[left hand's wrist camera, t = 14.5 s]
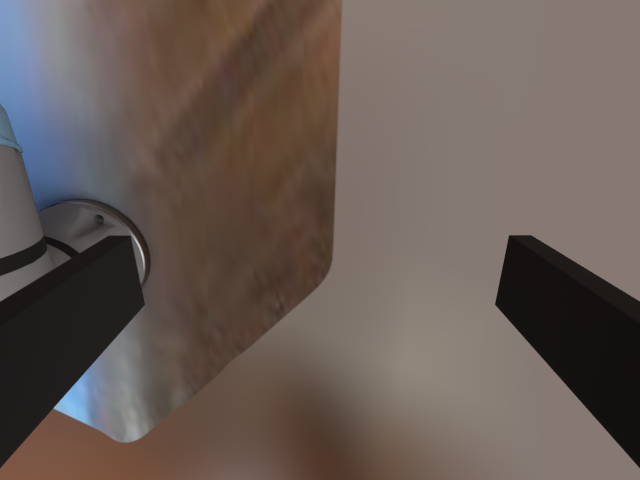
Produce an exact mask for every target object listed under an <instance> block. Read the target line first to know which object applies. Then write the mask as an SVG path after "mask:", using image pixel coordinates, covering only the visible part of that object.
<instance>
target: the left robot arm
mask: <svg viewBox="0 0 640 480" xmlns="http://www.w3.org/2000/svg"><path fill="white" fill-rule="evenodd" d="M22 152H23V151H22V148H21V146H20V145H18V144H17V142H16V139H15V136H14V133H13V130H12V127H11V124H10V122H9V119H8V116H7V113H6V111H5V110H4V108H3V107H2V106H1V105H0V468H1V467H2V465H3V464H4V463H5V462H6V461H7V460H8V459H9V457H10V456H11V455H12V454H13V453H14V452H15V451H16V450H17V448H18V447H19V446H20V445H21V444H22V443H23V442H24V441H25V439H26V438H27V437H28V436H29V435H30V434H31V433H32V432H33V430H34V429H35V428H36V427H37V426H38V425H39V424H40V422H41V421H42V420H43V419H44V418H45V417H46V416H47V415H48V413H49V412H50V411H51V410H52V409H53V408H54V407H55V406H56V404H57V403H58V402H59V401H60V400H61V399H62V398H63V396H64V395H65V394H66V393H67V392H68V391H69V390H70V389H71V387H72V386H73V385H74V384H75V383H76V382H77V381H78V380H79V378H80V377H81V376H82V375H83V374H84V373H85V372H86V371H87V369H88V368H89V367H90V366H91V365H92V364H93V363H94V361H95V360H96V359H97V358H98V357H99V356H100V355H101V354H102V352H103V351H104V350H105V349H106V348H107V347H108V346H109V345H110V343H111V342H112V341H113V340H114V339H115V338H116V337H117V335H118V334H119V333H120V332H121V331H122V330H123V329H124V328H125V326H126V325H127V324H128V323H129V322H130V321H131V320H132V319H133V317H134V316H135V315H136V314H137V313H138V312H139V311H140V309H141V308H142V307H143V306H144V305H145V303H144V298H143V293H142V286H143V285H144V283H145V282H146V280H147V277H148V274H149V270H150V255H149V250H148V247H147V244H146V242H145V240H144V238H143V236H142V234H141V233H140V231H139V230H138V229H137V227H136V226H135V225H134V224H133V223H132V222H131V221H130V220H129V219H128V218H127V217H126V216H125V215H123V214H122V213H120V212H119V211H118V210H116V209H114V208H112V207H110V206H108V205H106V204H103V203H100V202H97V201H93V200H86V199H73V200H67V201H63V202H60V203H57V204H55V205H52V206H50V207H47V208H45V209H43V210H42V211H40V212H39V213H38V212H37V209H36V205H35V202H34V198H33V194H32V191H31V187H30V184H29V180H28V177H27V173H26V170H25V166H24V162H23V159H22V155H21V153H22ZM495 305H496V306H497V307H498V308H499V309H500V311H501V312H502V313H503V314H504V315H505V316H506V317H507V318H508V320H509V321H510V322H511V323H512V324H513V325H514V326H515V328H516V329H517V330H518V331H519V332H520V333H521V334H522V335H523V337H524V338H525V339H526V340H527V341H528V342H529V343H530V344H531V346H532V347H533V348H534V349H535V350H536V351H537V352H538V353H539V355H540V356H541V357H542V358H543V359H544V360H545V361H546V363H547V364H548V365H549V366H550V367H551V368H552V369H553V371H554V372H555V373H556V374H557V375H558V376H559V377H560V378H561V380H562V381H563V382H564V383H565V384H566V385H567V386H568V387H569V389H570V390H571V391H572V392H573V393H574V394H575V395H576V396H577V398H578V399H579V400H580V401H581V402H582V403H583V404H584V405H585V407H586V408H587V409H588V410H589V411H590V412H591V413H592V415H593V416H594V417H595V418H596V419H597V420H598V421H599V422H600V424H601V425H602V426H603V427H604V428H605V429H606V430H607V431H608V433H609V434H610V435H611V436H612V437H613V438H614V439H615V441H616V442H617V443H618V444H619V445H620V446H621V447H622V448H623V450H624V451H625V452H626V453H627V454H628V455H629V456H630V458H631V459H632V460H633V461H634V462H635V463H636V464H637V465H638V467H639V468H640V301H638V300H636V299H635V298H633V297H631V296H630V295H628V294H627V293H625V292H623V291H622V290H620V289H618V288H617V287H615V286H613V285H612V284H610V283H608V282H607V281H605V280H604V279H602V278H600V277H599V276H597V275H595V274H594V273H592V272H590V271H589V270H587V269H585V268H584V267H582V266H581V265H579V264H577V263H576V262H574V261H572V260H571V259H569V258H567V257H566V256H564V255H562V254H561V253H559V252H558V251H556V250H554V249H553V248H551V247H549V246H548V245H546V244H544V243H543V242H541V241H540V240H538V239H536V238H535V237H533V236H531V235H510V236H509V239H508V244H507V249H506V254H505V258H504V263H503V268H502V273H501V278H500V283H499V288H498V293H497V298H496V303H495Z"/></svg>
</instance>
